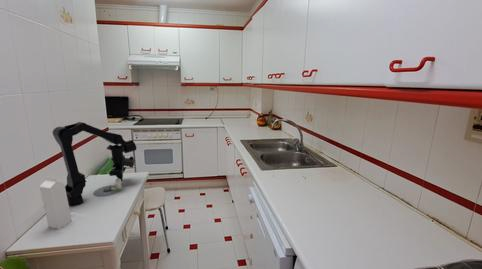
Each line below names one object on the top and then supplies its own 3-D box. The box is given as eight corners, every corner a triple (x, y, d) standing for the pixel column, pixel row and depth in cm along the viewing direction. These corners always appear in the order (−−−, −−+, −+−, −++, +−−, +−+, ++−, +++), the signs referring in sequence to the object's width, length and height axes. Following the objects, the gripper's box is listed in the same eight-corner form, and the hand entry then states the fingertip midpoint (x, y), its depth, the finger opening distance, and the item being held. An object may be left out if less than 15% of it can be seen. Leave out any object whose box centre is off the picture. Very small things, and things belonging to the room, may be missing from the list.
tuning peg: (102, 192, 131) (100, 182, 130) (105, 189, 135) (103, 179, 134) (120, 190, 133) (119, 180, 131) (122, 187, 137) (121, 177, 135)
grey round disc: (87, 197, 129) (86, 195, 128) (106, 185, 142) (106, 183, 142) (109, 199, 126) (109, 197, 125) (127, 187, 139) (127, 186, 138)
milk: (61, 219, 108) (52, 173, 104) (72, 221, 107) (63, 175, 102) (47, 227, 103) (37, 179, 98) (58, 229, 101) (48, 180, 96)
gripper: (129, 159, 129) (133, 186, 133) (135, 149, 146) (138, 173, 150) (107, 161, 126) (111, 188, 130) (115, 151, 144) (119, 175, 147)
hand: (121, 180), depth 139 cm, fingers closed
